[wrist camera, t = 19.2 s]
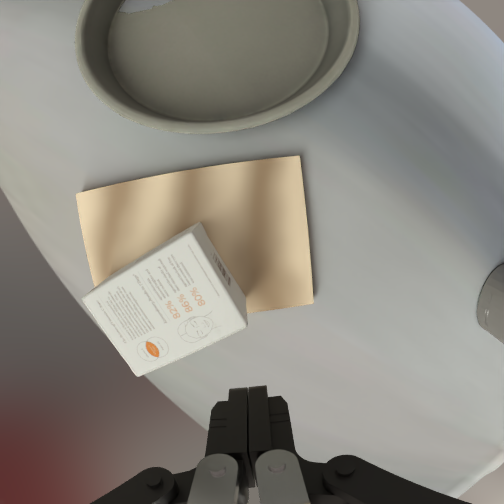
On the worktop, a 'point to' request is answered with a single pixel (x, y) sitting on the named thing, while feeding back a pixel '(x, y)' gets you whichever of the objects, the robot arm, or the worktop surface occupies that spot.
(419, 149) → the worktop surface
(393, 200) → the worktop surface
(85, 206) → the maple board
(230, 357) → the worktop surface
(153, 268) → the small box
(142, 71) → the cake pan
